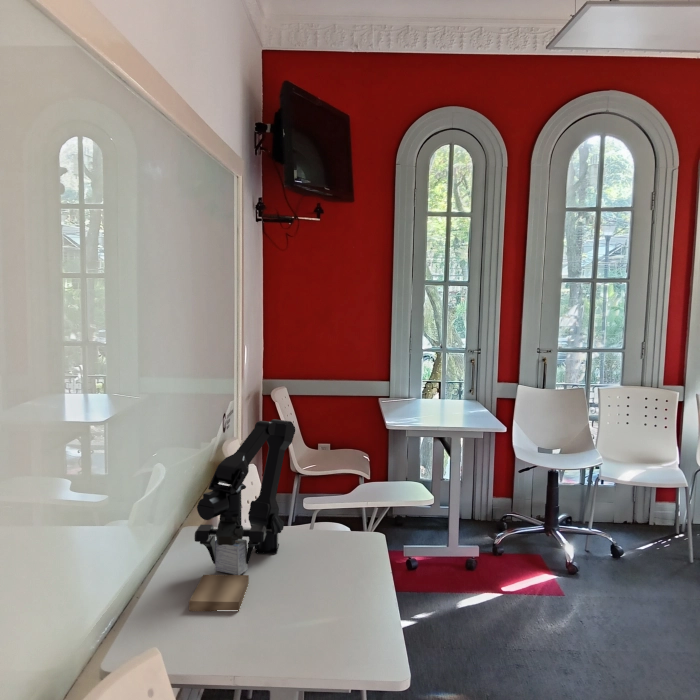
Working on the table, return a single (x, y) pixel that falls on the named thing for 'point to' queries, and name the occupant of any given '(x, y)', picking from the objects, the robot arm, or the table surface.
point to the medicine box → (231, 557)
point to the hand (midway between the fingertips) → (231, 563)
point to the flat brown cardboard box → (219, 593)
